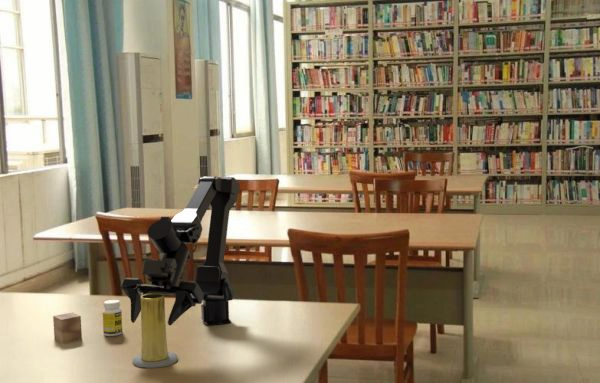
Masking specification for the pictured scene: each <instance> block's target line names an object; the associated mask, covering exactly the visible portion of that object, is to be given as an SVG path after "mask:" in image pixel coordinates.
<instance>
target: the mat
mask: <svg viewBox="0 0 600 383" xmlns="http://www.w3.org/2000/svg"><path fill="white" fill-rule="evenodd" d="M141 355H142V353H141V354H137V355H136V356H134V357H133V358H132V364H134V365H133V366H135V365H136V366H135V367H137V366H139V367H138V368H141V367H146V368H145V369H157V368H158V367H159V368H165V367H167V366H171V365H174V364H175V363H177V361H178V359H179V357H178V354H177V353H176V352H171V351H168V355H169V356H168V358H166V359H165V360H162V361H156V362H147V361H143V360H142V359H141Z"/></svg>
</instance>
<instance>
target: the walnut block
mask: <svg viewBox="0 0 600 383" xmlns="http://www.w3.org/2000/svg"><path fill="white" fill-rule="evenodd" d="M52 319H53V336H54V337H53V338H54V340H56V341H57V342H59V343H60V344H66V343H70V342H72V343H73V342H77V341H79V340H80V341H81V340H83V335H82V316H81V315H80V314H77V313H74V312H67V313H62V314H55V315H53V316H52Z"/></svg>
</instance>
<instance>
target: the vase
mask: <svg viewBox="0 0 600 383" xmlns="http://www.w3.org/2000/svg"><path fill="white" fill-rule="evenodd" d="M165 304H166V301H165V294H161V293H147V294H145V295H142V296H141V312H140V319H141V320H140V322H141V330H140V331H141V354H142V355H141V359H142V360H143V361H147V362H156V361H162V360H165V359H166V358H168V356H169V355H168V352H169V351H168V341H167V340H168V339H167V328H166V327H167V326H166V305H165Z"/></svg>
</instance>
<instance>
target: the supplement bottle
mask: <svg viewBox="0 0 600 383" xmlns="http://www.w3.org/2000/svg"><path fill="white" fill-rule="evenodd" d="M103 308H104V309H103V310H102V329H103V330H102V331H103V336H105V337H115V336H117V337H118V336H120V335H121V334H123V314H122V308H121V302H120V300H118V299H109V300H105V301H104V302H103Z"/></svg>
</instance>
